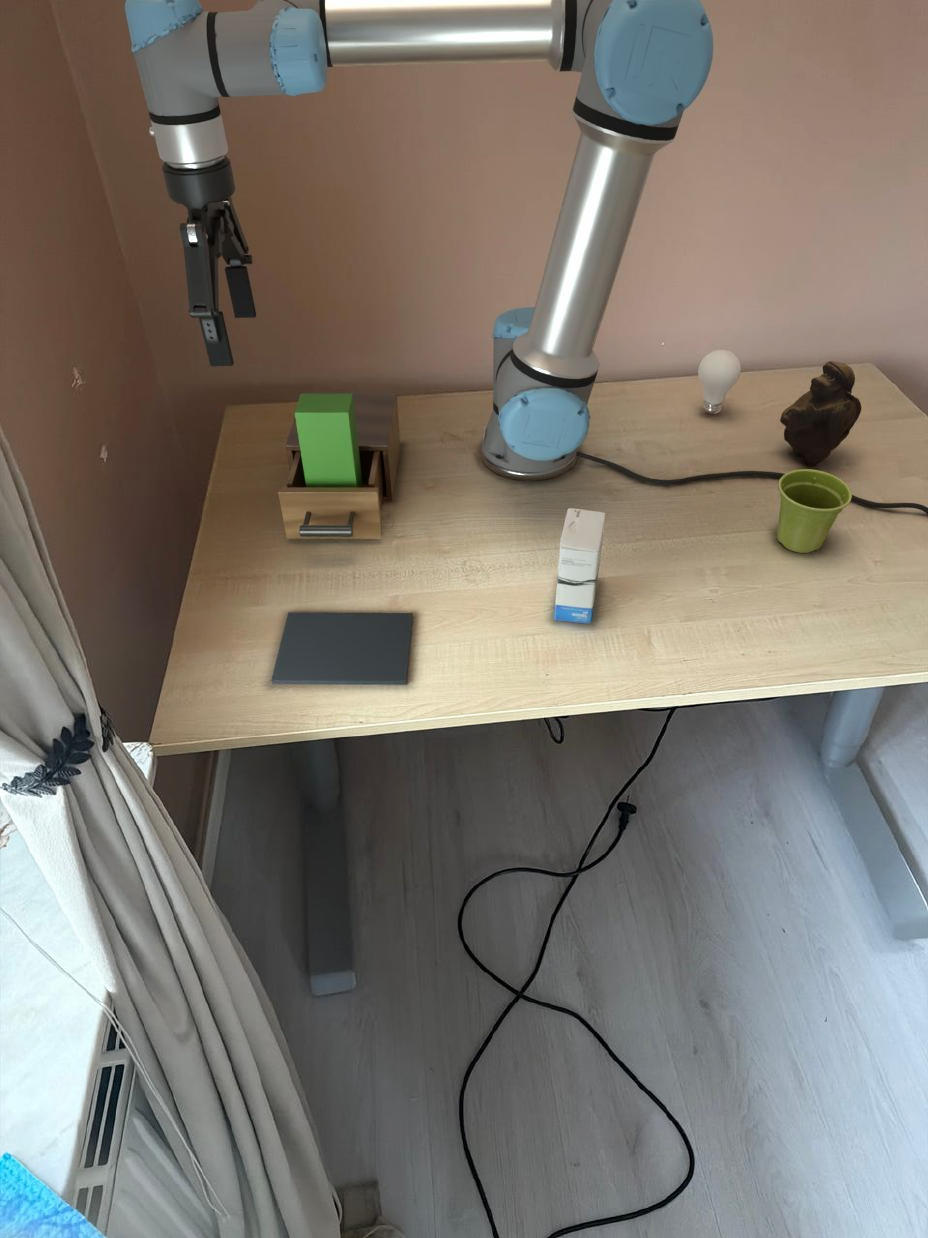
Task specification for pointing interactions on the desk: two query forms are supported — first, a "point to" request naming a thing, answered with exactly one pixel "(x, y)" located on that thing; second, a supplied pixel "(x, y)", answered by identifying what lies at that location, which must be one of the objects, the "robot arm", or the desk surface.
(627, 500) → the desk surface
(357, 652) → the slate mat
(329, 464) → the tall green prism
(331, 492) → the drawer
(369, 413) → the cabinet
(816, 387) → the sculpture
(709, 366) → the light bulb
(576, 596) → the ink box
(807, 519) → the plant pot
